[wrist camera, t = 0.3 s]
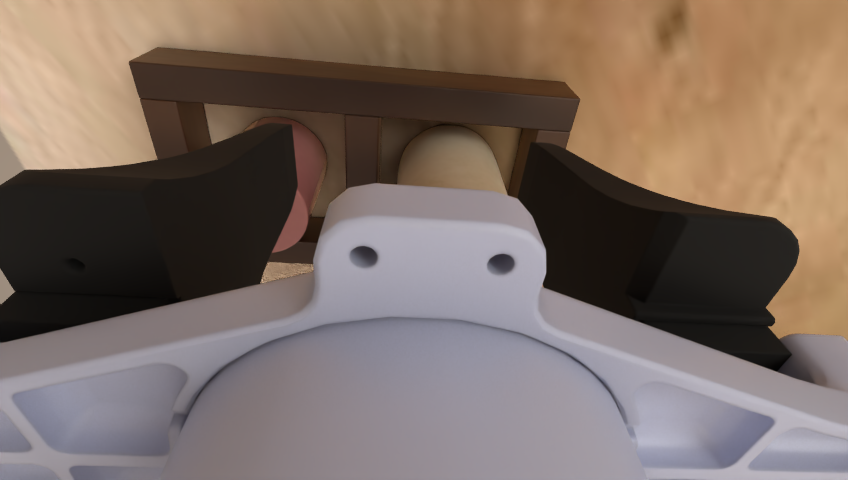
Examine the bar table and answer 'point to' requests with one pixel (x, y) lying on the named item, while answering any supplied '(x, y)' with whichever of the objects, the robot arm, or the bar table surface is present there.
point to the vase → (301, 179)
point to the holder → (341, 106)
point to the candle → (450, 161)
